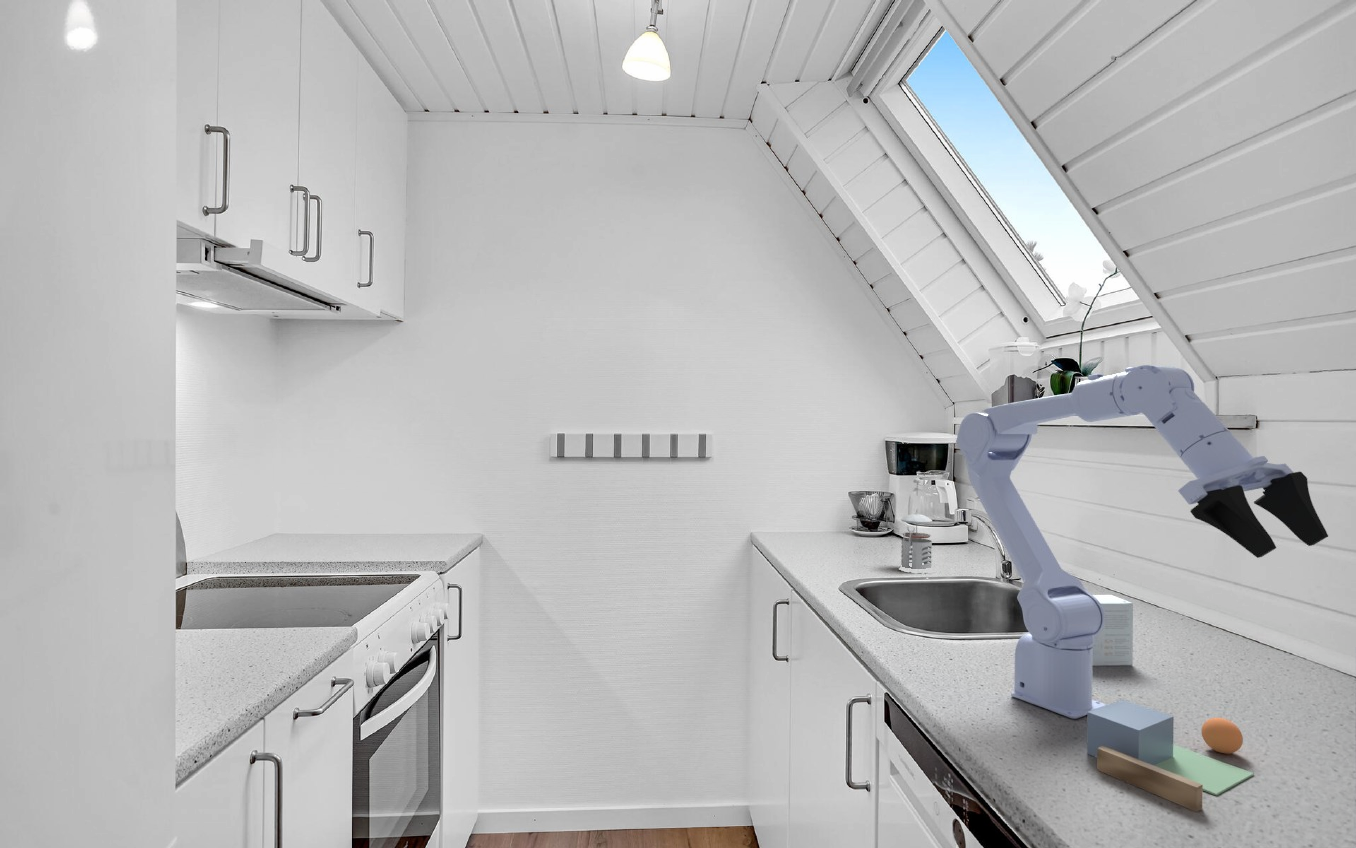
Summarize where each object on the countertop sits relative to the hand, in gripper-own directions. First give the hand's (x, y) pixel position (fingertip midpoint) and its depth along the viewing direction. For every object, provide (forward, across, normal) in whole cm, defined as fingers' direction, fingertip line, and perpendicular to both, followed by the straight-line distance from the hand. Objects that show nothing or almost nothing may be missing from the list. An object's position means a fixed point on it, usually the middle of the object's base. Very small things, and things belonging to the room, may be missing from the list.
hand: (1293, 547), depth 75 cm
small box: (-3, +13, +50) cm, 51 cm away
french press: (-46, +25, +106) cm, 118 cm away
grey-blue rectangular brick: (+12, -12, +25) cm, 30 cm away
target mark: (+15, -8, +22) cm, 28 cm away
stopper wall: (+16, -17, +20) cm, 30 cm away
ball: (+13, 0, +23) cm, 27 cm away
